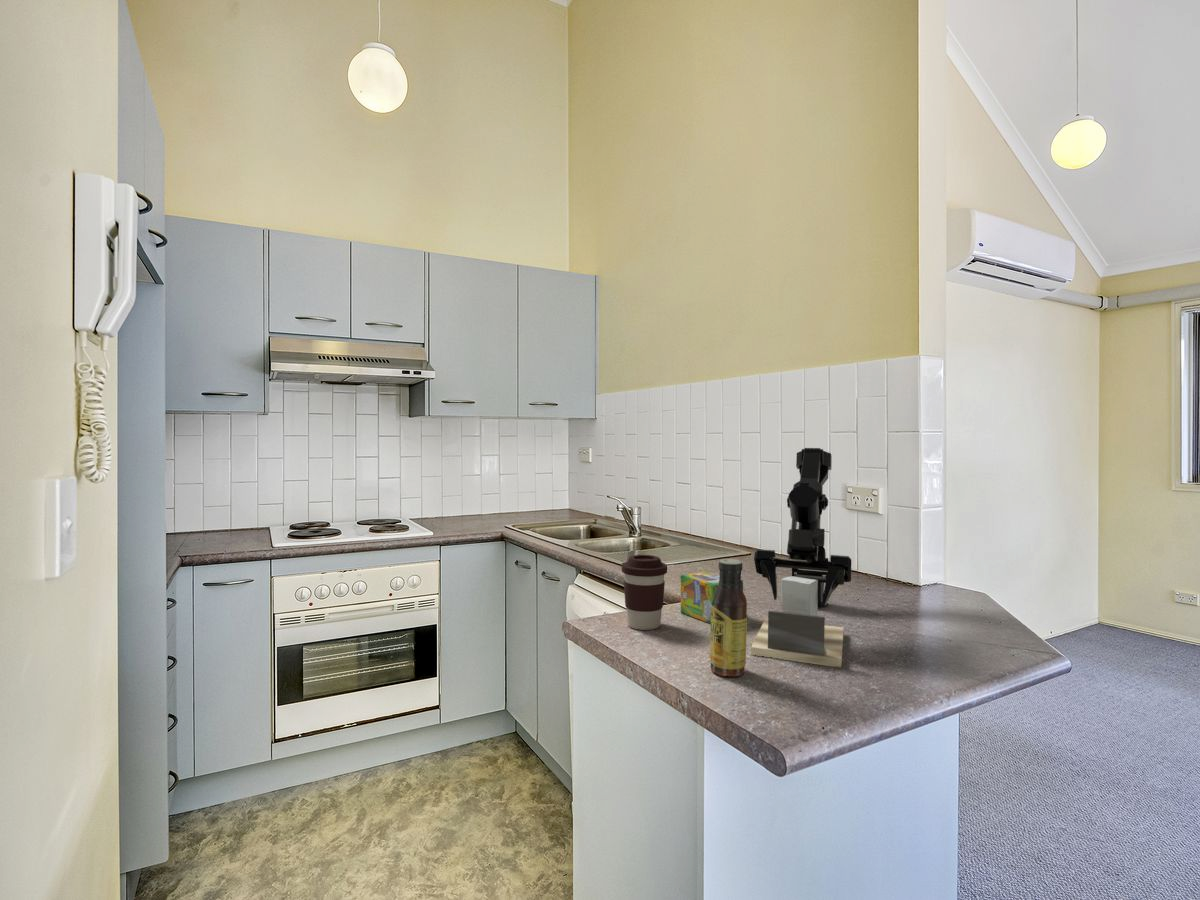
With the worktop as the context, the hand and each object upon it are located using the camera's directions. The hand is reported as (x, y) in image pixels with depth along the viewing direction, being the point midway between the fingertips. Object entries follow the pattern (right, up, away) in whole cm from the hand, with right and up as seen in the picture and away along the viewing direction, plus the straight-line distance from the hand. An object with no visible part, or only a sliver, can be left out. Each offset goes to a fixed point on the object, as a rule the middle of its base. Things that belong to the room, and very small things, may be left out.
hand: (799, 601), depth 121 cm
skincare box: (0, -8, +1) cm, 8 cm away
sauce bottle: (-17, -10, -12) cm, 23 cm away
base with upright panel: (+1, -9, +2) cm, 9 cm away
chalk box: (-17, -4, +26) cm, 31 cm away
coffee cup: (-30, -9, +14) cm, 34 cm away
